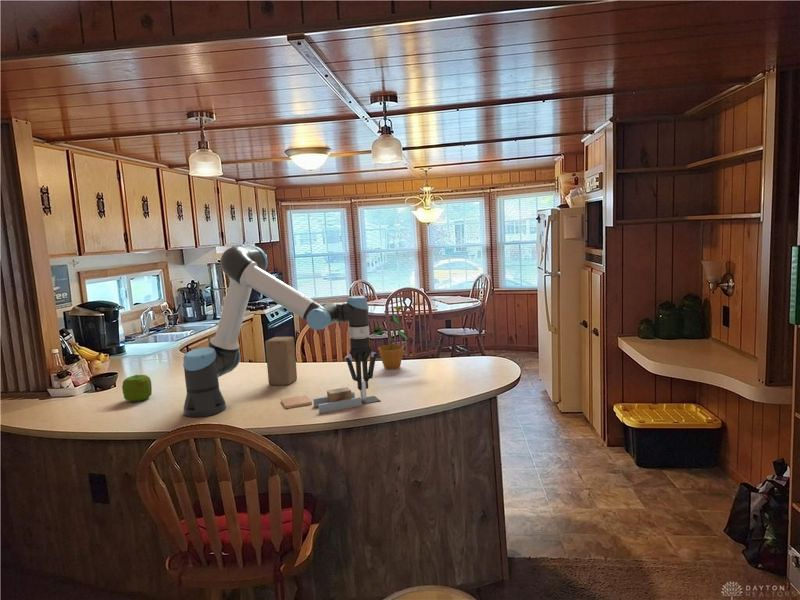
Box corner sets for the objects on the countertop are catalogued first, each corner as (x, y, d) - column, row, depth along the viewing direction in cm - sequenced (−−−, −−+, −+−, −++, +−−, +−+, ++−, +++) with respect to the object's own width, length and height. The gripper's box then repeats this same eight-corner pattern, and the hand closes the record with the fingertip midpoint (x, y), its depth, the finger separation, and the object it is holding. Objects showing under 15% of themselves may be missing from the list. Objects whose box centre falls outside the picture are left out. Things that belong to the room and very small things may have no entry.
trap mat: (363, 404, 199) (363, 403, 199) (357, 399, 206) (357, 398, 206) (380, 401, 202) (380, 400, 202) (374, 396, 208) (374, 395, 208)
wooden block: (289, 385, 231) (285, 340, 229) (267, 385, 233) (264, 340, 231) (298, 379, 241) (294, 336, 238) (277, 379, 243) (273, 336, 240)
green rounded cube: (126, 398, 225) (123, 373, 224) (153, 394, 229) (150, 369, 228) (122, 405, 215) (119, 379, 214) (151, 401, 219) (148, 375, 217)
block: (331, 409, 196) (330, 393, 195) (328, 405, 200) (326, 390, 200) (352, 405, 199) (351, 390, 198) (348, 402, 203) (347, 387, 203)
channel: (319, 413, 192) (319, 405, 192) (313, 406, 200) (313, 398, 200) (361, 405, 198) (360, 397, 198) (354, 399, 206) (353, 391, 206)
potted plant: (417, 364, 256) (414, 303, 252) (398, 374, 240) (394, 308, 236) (386, 361, 265) (383, 302, 261) (365, 370, 249) (361, 307, 245)
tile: (285, 408, 199) (285, 406, 199) (281, 401, 208) (280, 399, 208) (311, 404, 203) (311, 401, 203) (306, 397, 212) (306, 394, 212)
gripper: (346, 340, 194) (350, 402, 197) (379, 336, 199) (382, 397, 202) (340, 337, 201) (344, 397, 204) (372, 333, 206) (376, 392, 209)
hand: (363, 397), depth 203 cm, fingers closed
